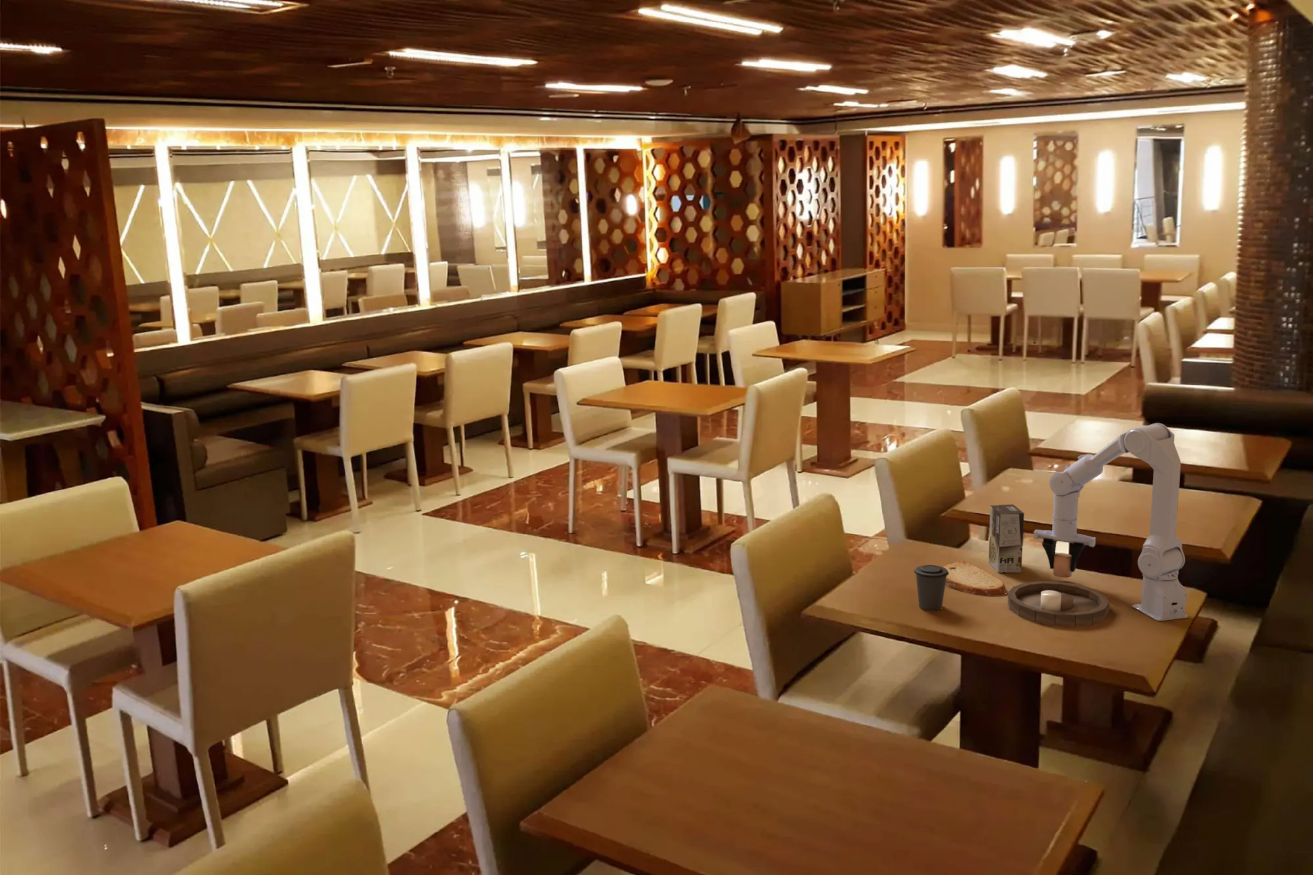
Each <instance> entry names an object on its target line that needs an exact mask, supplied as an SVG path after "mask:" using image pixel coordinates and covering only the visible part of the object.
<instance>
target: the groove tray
mask: <svg viewBox="0 0 1313 875" xmlns="http://www.w3.org/2000/svg"><path fill="white" fill-rule="evenodd" d="M1046 590H1052V591H1057V592H1059V593H1061V610H1060V612H1054V611H1049V610H1043V609H1040V605H1041V592H1042V591H1046ZM1007 605H1008V609H1009V611H1011V612H1012V613H1014V614H1015V615H1017V616H1018V617H1020V618H1022V619H1025V620H1029V621H1031V622H1034V623H1038V624H1044V625H1049V626H1056V627H1081V626H1090V625H1091V626H1092V625H1095V624H1097V623H1100V622H1103V621H1105V620H1106V618H1107V616H1108V615H1109V605H1110V602H1109V600H1108V598H1107V597H1106V595H1104V594H1102V593H1101V592H1099V591H1097V590H1096V589H1094V588H1090V587H1087V586H1083V585H1081V584H1075V583H1070V582H1064V581H1049V580H1048V581H1047V580H1038V581H1029V582H1023V583H1021V584H1018V585H1017V584H1016V585H1014V586H1012V588H1010V590H1008V591H1007Z"/></svg>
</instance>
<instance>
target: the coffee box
mask: <svg viewBox="0 0 1313 875" xmlns="http://www.w3.org/2000/svg"><path fill="white" fill-rule="evenodd" d="M989 507H990V508H989V509H990V510H989V511H990V512H989V535H988V536H989V540H988V542H989V546H988V564H990V565H991V566H992V567H993V569H994V570H995V571H996V572H997V573H1003V572H1005V573H1022V564H1023V562H1022V560H1023V544H1024V542H1023V541H1024V524H1025V523H1024V521H1025V520H1024V519H1025V513H1024V512H1023V511H1022V510H1021V509H1019V508H1018V507H1017V506H1016V505H1015V504H1011V503H1010V504H998V505H997V504H995V505H990V506H989Z"/></svg>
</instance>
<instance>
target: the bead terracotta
mask: <svg viewBox="0 0 1313 875" xmlns="http://www.w3.org/2000/svg"><path fill="white" fill-rule="evenodd" d="M1070 568H1071V554H1069V553H1064V552H1060V553H1058V552H1057V553H1055V554H1054V565H1053V569H1052V575H1053V576H1055V577H1056V578H1063V579H1064V578H1065V579H1066V578H1071V577H1072V576H1073V572H1071V569H1070Z"/></svg>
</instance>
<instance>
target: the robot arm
mask: <svg viewBox="0 0 1313 875" xmlns="http://www.w3.org/2000/svg"><path fill="white" fill-rule="evenodd" d="M1128 453H1129V454H1131V455H1132V456H1134V457H1137V458H1138V459H1140V460H1141V461H1143V462H1144V463H1146V464H1148V465H1149V467H1151V468H1152V470H1153V474H1152V476H1153V479H1152V493H1151V508H1150V522H1149V535H1148V537H1147V538H1146V540H1145V541H1144V542H1143V544H1142V550H1141V553H1140V555H1139V556H1138V559H1137V565H1138V566H1137V567H1138V569H1139V570H1140V572H1141V573H1142V576H1143V577H1142V589H1141V590H1142V591H1141V603H1137V604H1133V605H1132V608H1134V609H1136V610H1137V611H1139V612H1140V613H1143V614H1145V615H1146V616H1148V617H1149V618H1151V619H1153V620H1155V621H1158V622H1161V621H1171V620H1179V619H1187V618H1189V615H1188V614H1186V604H1187V590H1186V588H1185V587H1184V586H1183V585H1182V583H1181V582H1180V581H1179V578H1178V576H1179V572H1180V571H1179V570H1181V569H1182V568H1183V566H1184V565H1185V562H1186V558H1185V554H1184V551H1183V542H1182V540H1181V539H1179V538H1178V537H1177V536H1176V533H1177V524H1178V523H1177V521H1178V506H1179V505H1178V504H1179V496H1180V495H1179V494H1180V493H1179V491H1180V482H1181V481H1180V478H1181V467H1182V466H1181V465H1182V464H1181V463H1182V462H1181V458H1180V456H1179V453H1178V450H1177V447H1176V445H1175V434H1174V433H1173V431H1171V429H1170V428H1168V427H1167V426H1166V425H1165V424H1163V423H1160V422H1155V423H1152V424H1149V425H1145V426H1140V427H1133V428H1130V429H1129V430H1127V431H1126V432H1123V433H1121V434H1120V435H1118V436H1117V437H1116V438H1115V439H1114V440H1112V441H1111V442H1110V443H1108V444H1107V445H1106V446H1104V447H1103V448H1102V449H1100V450H1099V451H1098V452H1097V453H1095V454H1091V453H1089V454H1081V455H1079V456H1078V457H1077V459H1078V460H1076V461H1075V462H1073V463H1072V464H1071V465H1070V464H1067V465H1066V466H1064V470H1063V471H1056V472H1054V473H1053V474H1052V475H1051V476H1050V479H1049V481H1048V482H1049V488H1050V490H1051V491H1052V493H1053V504H1052V506H1053V507H1052V508H1053V509H1052V530H1048V529H1047V530H1046V529H1045V530H1043V529H1035V530H1034V531H1033V539H1034V540H1043V541H1042V542H1041V545H1042V547H1043V550H1044V552H1045V554H1046V556H1047V559H1048V564H1049V569H1051V570H1053V565H1054V554H1056V548H1057V542H1060V543H1069V544H1072V545H1071V546H1070V553H1071V554H1070V555H1071V568H1070V569H1071V572H1072V573H1075V571H1076V569H1077V568H1076V567H1077V563H1078V560H1079V558H1080V556H1081V554H1082V552H1083V550H1084V548H1085V547H1086V546H1089V547H1090V548H1091V547H1092V548H1094V547H1095V546H1096V537H1095V536H1094V537H1093V536H1089V535H1085V534H1080V533H1077V531H1078V530H1077V527H1078V514H1079V512H1078V511H1079V510H1078V508H1079V507H1078V506H1079V498H1080V492H1081V491H1082V490H1083V488H1084V487H1085V485H1087V484H1088V483H1089V482H1091V481H1092V480H1094V479H1095V478H1097V477H1099V476H1100V475H1102V473H1103V471H1104V466H1106V465H1108V464H1109V463H1110V462H1112V461H1114V460H1115V459H1117V458H1119V457H1120V456H1122V455H1124V454H1128Z"/></svg>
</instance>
